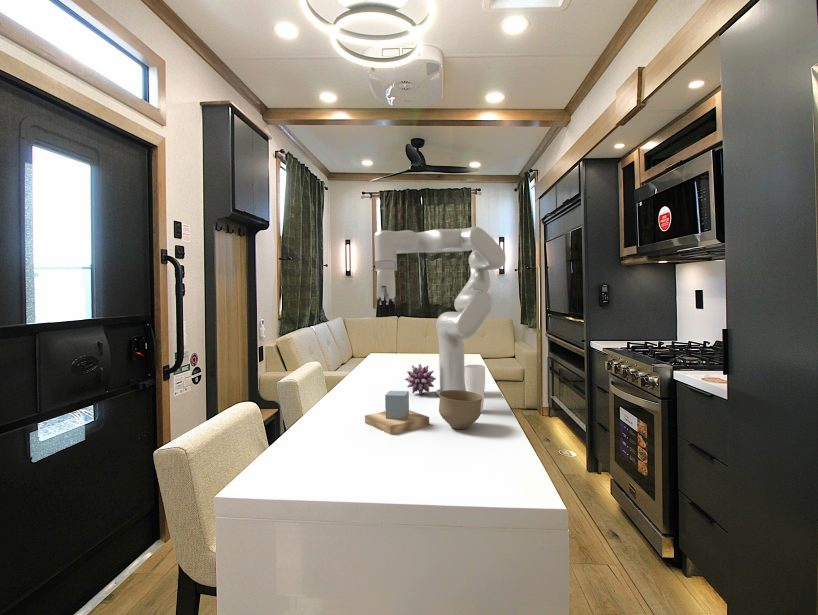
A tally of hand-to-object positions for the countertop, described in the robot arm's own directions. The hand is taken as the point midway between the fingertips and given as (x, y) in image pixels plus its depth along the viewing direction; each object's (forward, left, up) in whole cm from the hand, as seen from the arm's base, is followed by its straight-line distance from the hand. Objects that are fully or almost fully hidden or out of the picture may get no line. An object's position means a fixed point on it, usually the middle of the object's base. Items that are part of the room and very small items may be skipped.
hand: (387, 315), depth 161 cm
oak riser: (+10, +21, -32) cm, 40 cm away
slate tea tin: (+10, +21, -29) cm, 37 cm away
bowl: (-3, +35, -32) cm, 48 cm away
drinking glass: (-18, +25, -32) cm, 44 cm away
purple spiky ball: (-17, -6, -32) cm, 37 cm away
